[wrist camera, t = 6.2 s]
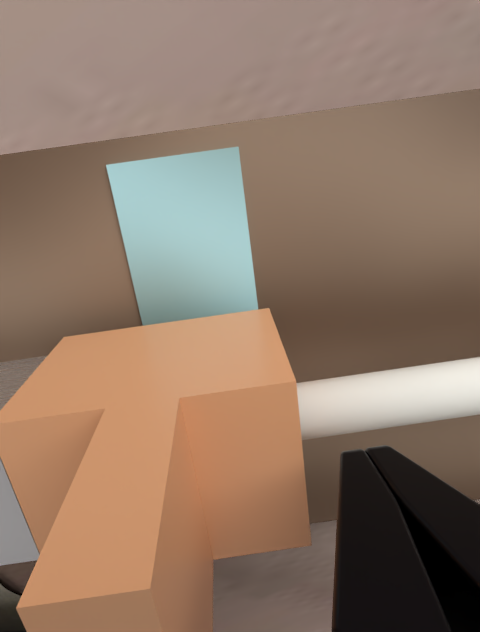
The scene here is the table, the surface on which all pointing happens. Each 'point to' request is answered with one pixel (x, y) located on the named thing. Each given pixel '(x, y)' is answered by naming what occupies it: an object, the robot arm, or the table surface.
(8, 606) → the condiment
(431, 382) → the cord
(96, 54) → the table surface
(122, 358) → the orange stepped block
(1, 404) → the block
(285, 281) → the cord board
